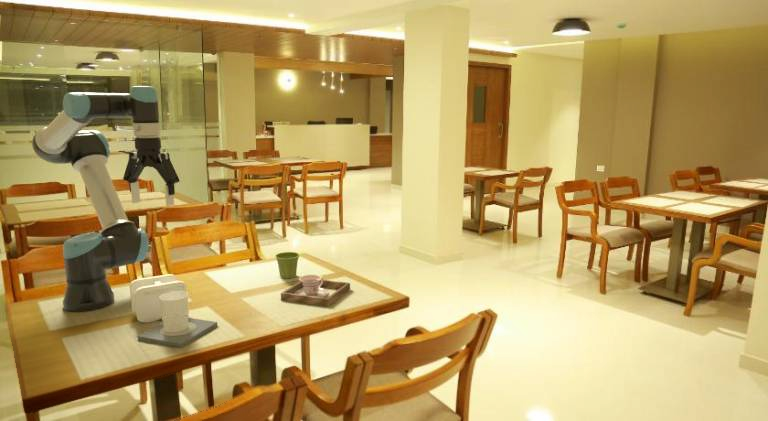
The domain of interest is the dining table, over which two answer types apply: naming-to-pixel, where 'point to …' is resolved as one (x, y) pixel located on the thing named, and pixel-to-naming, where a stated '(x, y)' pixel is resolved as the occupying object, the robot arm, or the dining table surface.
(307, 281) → the teacup
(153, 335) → the slate mat
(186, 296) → the white cup
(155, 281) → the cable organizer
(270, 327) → the dining table surface
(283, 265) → the plant pot
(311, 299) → the teacup tray rim
